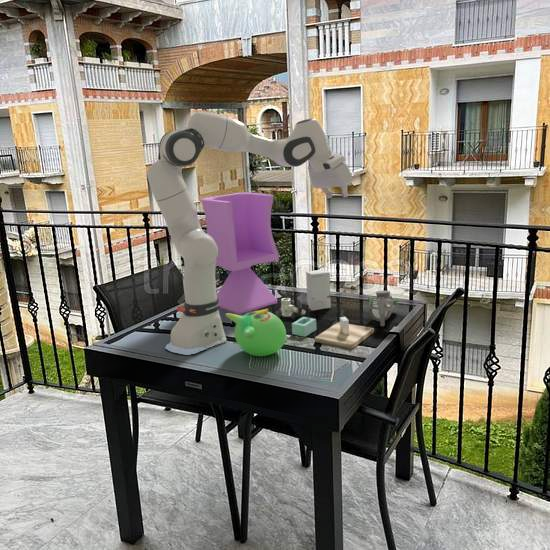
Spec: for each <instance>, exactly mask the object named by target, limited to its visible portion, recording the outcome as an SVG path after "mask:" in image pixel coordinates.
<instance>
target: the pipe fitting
mask: <svg viewBox="0 0 550 550" xmlns="http://www.w3.org/2000/svg"><path fill="white" fill-rule="evenodd" d="M375 295H376V299H375V300H374V301H377V300H378V298H381V297H383V298H392V299H395V298H393V296H392V295H391V291H390V290H378V291H375ZM395 301H397V300H396V299H395ZM387 303H388V302H387ZM373 305H374V304H373ZM388 305H389V303H388ZM374 306H378V305H374ZM398 308H399V303H398V302H397V305H395V308H394V309H392V310H391V311H386V314H385V321H386V320H388V319H389V318H390V317H391V315H393V314H395V312H397V310H398ZM368 311H369V312H368V313H369V315H370V317H371V318H372V319H373V320H375V321H376V322H380V314H379V310H376V309H371V308H370V307H369V306H368Z"/></svg>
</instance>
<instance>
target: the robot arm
mask: <svg viewBox="0 0 550 550" xmlns="http://www.w3.org/2000/svg"><path fill="white" fill-rule="evenodd" d="M204 148H211V149H215V150H218V151H223V152H227V153H243V152H244V153H250V154H253V155H256V156H260V157H264V158H266V159H268V161H270V162H272V164H274V165H275V166H277V167H280V168H286V167H287V168H288V167H289V168H291V167H292V168H293V167H294V168H295V167H296V168H297V167H300V166H302V165H303V164H305V163H306V162H308V163H309V164H308V167H307V170H308V177H309V180H310V183H311V185H312V187H313V188H314V189H320V190H321V191H322V193H324V195H325V196H326V198H327V199H331V198H332V197H333V196H334V195H333V193H332V191H330V189H328V188H337V187H338V188H340V189H341V190H342V191H341V192H342V193H341V196H342V198H347V197H349V191H348V185H350V184H352V183H353V176H352V174H351V171H350V169H349V166H348V164H347V163H346V162H345V161H346V158H345V156H344V155H342V154H339V153H337V152H335V151H333V150H332V148H331V147H330V144H329V143H328V139H327V136H326V133H325V131H324V129H323V127H322V125H321V124H320V122H319V121H318V119H316V118H313V117H311V118H305V119H303V120H300V121H298V122H296V123H295V125H294V128H293V130H292V131H291V133H290V135H288V136H287V138H278V139H274V140H273V139H268V138H266V137H263V136H260V135H259V136H258V135H255V134H253V133H251V132H250V131H249V130H248V127H247V126H246V125H245V123H243V122H242V121H239V120H238V119H236V118H233V117H230V116H227V115H225V114H224V115H223V114H219V113H215V112H207V111H196V112H194V113H193V114H192V115H191V117H190V118H189V120H188V123H187V127H186V128H185V129H182V130H181V129H176V130H169V131H167V132H166V133H164V135H162V137H161V138H160V141H159V144H158V156H157V159H158V160H157V161H155V162H153V163H152V164H151V165H150V166H149V167H148V169H147V173H146V176H147V179H148V184H149V186H150V190H151V193H152V196H153V198H154V200H155V202H156V204H157V206H158V208H159V210H160V213H161V215H162V217H163V219H164V221H165V223H166V226H167V230H168V233H169V235H170V237H171V238H170V239H171V241H172V243H173V246H174V248H175V251H176V252H177V254H178V255H179V256H181V257H182V260H183V265H184V269H183V273H184V274H183V279H182V283H183V284H182V285H183V292H184V300H185V301H184V302H183V306H181V305H178V306H177V308H176V311H177V312H179V313H182V315H181V316H180V318H179V320H178V321H177V322H176V323H175V325H174V326H173V327H172V329H171V332H170V342H171V345H173V346H176V347H179V348H184V349H194V348H198V347H199V348H201V347H203V348H207V347H210V346H213V345H217V344H220V345H222V344H224V342H225V343H227V342H228V341H227V337H226V336H227V334H226V332H225V330H224V326H223V322H222V318H221V314H220V308H219V300H218V298H217V293H218V292H217V285H216V266H217V265H216V258H217V255H218V247H217V245H216V242H215V241H214V239H213V238H212V237H211V236H210V235H208V234H207V232H205V231H204V230H203V229H202V226H201V224H200V220H199V217H198V216H199V215H198V211H197V210H198V209H197V206H196V204H195V202H194V200H193V198H192V196H191V193H190V191H189V189H188V187H187V184H186V183H185V182H186V181H185V180H184V178H183V173H182V171H183V167H188V166H189V167H190V165H193V164H194V163H195V162H196V161H197V160H198V158H199V156H200V154H201V153H202V150H203V149H204ZM226 341H227V342H226ZM221 343H222V344H221ZM217 346H218V345H217Z"/></svg>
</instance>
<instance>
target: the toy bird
mask: <svg viewBox="0 0 550 550" xmlns="http://www.w3.org/2000/svg"><path fill="white" fill-rule="evenodd" d="M224 315H225V316H226V318H228V319H229V320H231V321H232V322H234V324H235V327H234V338H235V340H236V343H237V344H238V346H239V348H241V349H242V351H244V352H245V353H247V354H249V355H251V356H254V357H266V356H270V355H274V354H275V353H277V352H279V350H280V349H282V347H283V346H284V344H285V343H286V339H287V330H286V327H285V325H284V323H283V321H282V319H280V317H278V316H277V315H276V314H274V313H272V312H270V311H269V308H265V309H264V308H262V309H258V310H254V311H251V312H248V313H244V315H236V314H234V313H231V312H227V313H225V314H224Z"/></svg>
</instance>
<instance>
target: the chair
mask: <svg viewBox="0 0 550 550" xmlns="http://www.w3.org/2000/svg"><path fill="white" fill-rule="evenodd" d="M200 201H201V204H202V208H203V211H204V215H205V216H204V217H205V220H206V223H205V224H206V234H208V235H210V236H211V237H212V238H213V239H214V241H215V242H216V245H217V247H218V255H217V258H216V266H218V267H220V268H222V269H224V270H226V271H229V272H230V273H229V274H228V276H227V277H226V279H225V280H224V282H223V284H222V286H221V287H220V289H219V290H218V292H217V298H218V300H219V309H222V310H225V311H227V312H228V313H231V314H235V315H240V316H242V315H243V314H244V315H245V314H247V313H250V312H253V311H258V310H262V309H264V308H266V307H270V306H273V305H276V304H278V299H277V298H276V297H275V295H274V294H273V293H272V292H271V290H270V289H269V288H268V287H267V286H266V284H264V282H263V281H262V280H261V279H260V278H259V277H258V275H257V274H256V273H255V272H254V270H252V268H251V267H252V266H256V265H259V264H265V263H273V262H277V261H279V260H280V256H279V251H278V249H277V246H276V242H275V240H274V237H273V232H272V226H271V225H272V224H271V223H272V222H271V221H272V220H271V218H272V209H273V208H272V207H273V202H274V194H270V193H269V194H266V193H258V192H236V193H229V194H223V195H222V194H221V195H216V196H210V197H204V198H203V197H202V198H201V200H200Z"/></svg>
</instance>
